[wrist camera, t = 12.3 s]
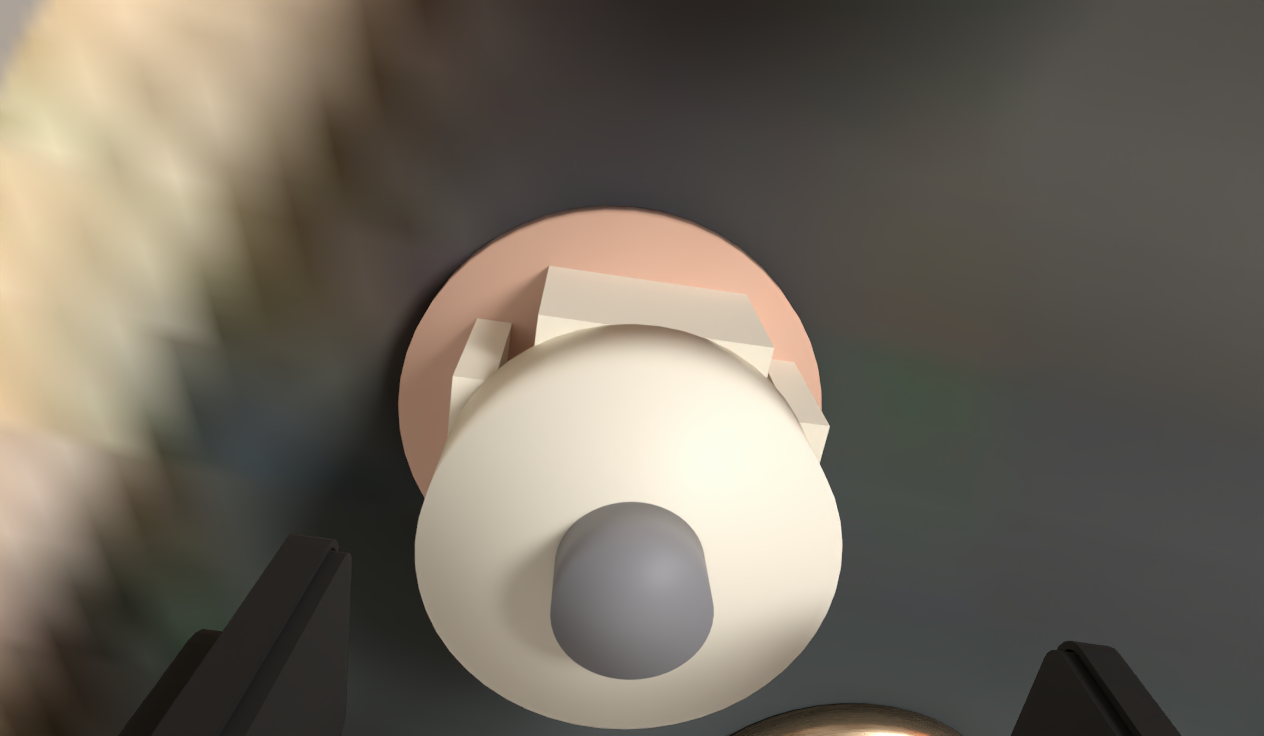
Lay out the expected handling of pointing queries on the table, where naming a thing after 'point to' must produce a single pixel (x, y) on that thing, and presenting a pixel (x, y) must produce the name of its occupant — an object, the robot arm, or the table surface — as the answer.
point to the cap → (629, 506)
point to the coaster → (513, 288)
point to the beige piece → (849, 722)
